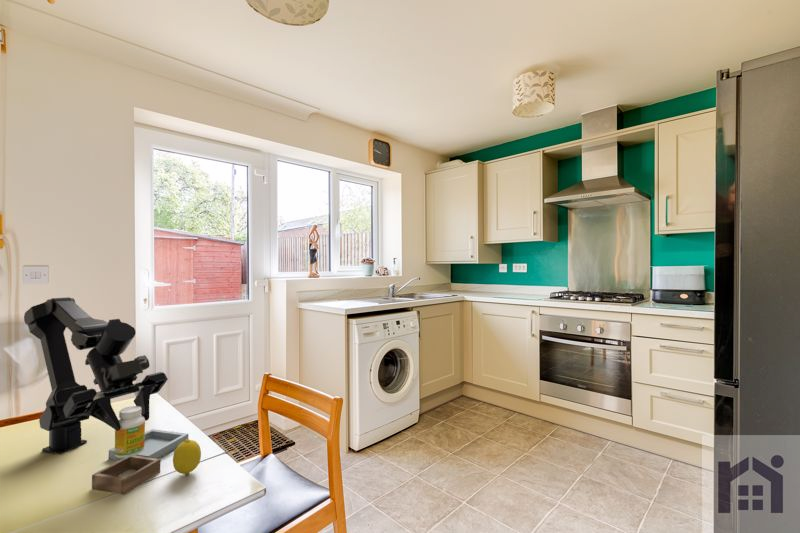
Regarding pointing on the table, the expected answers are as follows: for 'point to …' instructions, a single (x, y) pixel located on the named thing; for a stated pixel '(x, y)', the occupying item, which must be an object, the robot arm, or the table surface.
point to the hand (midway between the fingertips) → (133, 424)
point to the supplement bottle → (130, 433)
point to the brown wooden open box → (119, 485)
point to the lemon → (186, 456)
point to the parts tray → (157, 444)
